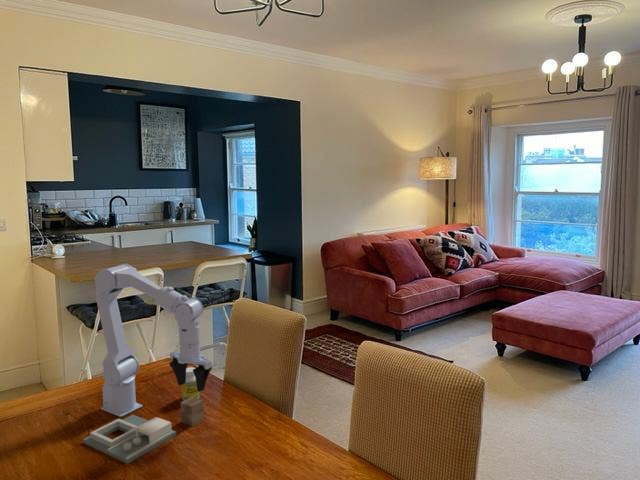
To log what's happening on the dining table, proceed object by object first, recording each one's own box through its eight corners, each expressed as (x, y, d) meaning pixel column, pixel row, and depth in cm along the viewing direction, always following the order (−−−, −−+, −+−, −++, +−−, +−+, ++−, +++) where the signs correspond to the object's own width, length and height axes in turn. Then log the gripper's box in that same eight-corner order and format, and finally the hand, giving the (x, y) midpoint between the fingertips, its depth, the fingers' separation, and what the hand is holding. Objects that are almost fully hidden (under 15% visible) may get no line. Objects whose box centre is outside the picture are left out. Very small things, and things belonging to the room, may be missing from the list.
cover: (135, 437, 135) (135, 427, 135) (156, 426, 141) (156, 416, 141) (151, 443, 132) (150, 433, 132) (171, 432, 138) (171, 422, 138)
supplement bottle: (196, 393, 164) (195, 365, 163) (202, 399, 160) (201, 370, 158) (179, 397, 161) (178, 368, 160) (185, 403, 157) (184, 374, 155)
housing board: (83, 442, 134) (82, 434, 134) (133, 417, 148) (132, 409, 148) (127, 463, 125) (126, 454, 125) (176, 434, 139) (176, 426, 138)
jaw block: (181, 422, 146) (180, 402, 145) (192, 415, 149) (192, 396, 149) (192, 426, 143) (191, 406, 142) (203, 419, 147) (203, 400, 146)
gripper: (161, 341, 143) (162, 386, 145) (198, 351, 136) (199, 398, 138) (179, 334, 149) (181, 377, 151) (216, 343, 142) (217, 389, 144)
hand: (191, 387), depth 145 cm, fingers open, 7 cm apart
